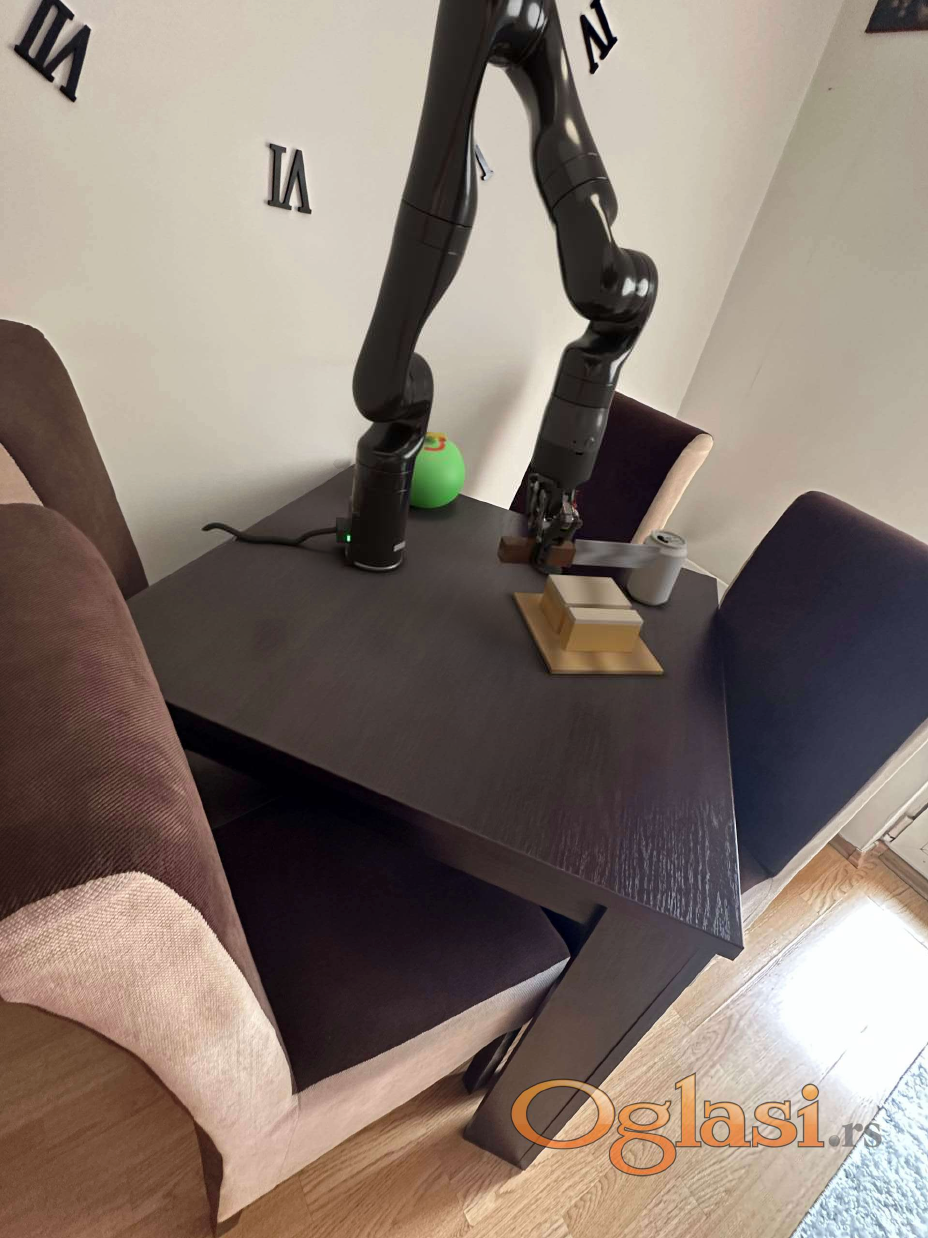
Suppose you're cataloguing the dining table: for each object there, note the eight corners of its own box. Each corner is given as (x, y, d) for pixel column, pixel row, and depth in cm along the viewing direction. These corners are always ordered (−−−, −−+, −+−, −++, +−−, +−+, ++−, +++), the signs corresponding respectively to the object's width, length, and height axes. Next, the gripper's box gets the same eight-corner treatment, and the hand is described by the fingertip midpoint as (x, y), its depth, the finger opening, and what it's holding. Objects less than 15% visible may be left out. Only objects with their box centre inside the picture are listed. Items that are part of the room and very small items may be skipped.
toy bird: (465, 525, 127) (480, 453, 119) (378, 517, 122) (388, 442, 114) (450, 487, 141) (462, 420, 133) (372, 479, 137) (380, 409, 129)
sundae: (566, 563, 121) (589, 488, 113) (567, 581, 116) (592, 503, 107) (531, 556, 121) (552, 480, 113) (531, 573, 115) (553, 495, 107)
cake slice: (564, 651, 96) (575, 619, 93) (558, 639, 98) (568, 607, 95) (630, 652, 99) (643, 621, 96) (622, 640, 101) (635, 609, 98)
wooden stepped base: (550, 674, 92) (563, 636, 88) (512, 596, 108) (521, 561, 104) (662, 674, 97) (678, 639, 93) (609, 600, 113) (621, 567, 109)
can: (620, 582, 119) (641, 523, 112) (658, 587, 120) (681, 529, 114) (632, 605, 113) (656, 544, 106) (672, 609, 114) (698, 550, 107)
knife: (501, 562, 85) (507, 538, 83) (496, 554, 87) (502, 530, 85) (655, 572, 91) (664, 550, 89) (648, 564, 93) (657, 542, 91)
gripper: (524, 412, 82) (494, 534, 92) (559, 454, 71) (521, 587, 81) (578, 420, 84) (544, 538, 94) (620, 461, 73) (577, 590, 83)
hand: (534, 560), depth 87 cm, fingers closed on knife, 2 cm apart
